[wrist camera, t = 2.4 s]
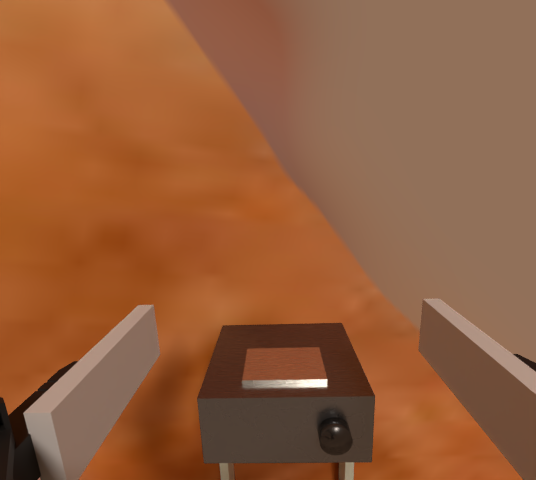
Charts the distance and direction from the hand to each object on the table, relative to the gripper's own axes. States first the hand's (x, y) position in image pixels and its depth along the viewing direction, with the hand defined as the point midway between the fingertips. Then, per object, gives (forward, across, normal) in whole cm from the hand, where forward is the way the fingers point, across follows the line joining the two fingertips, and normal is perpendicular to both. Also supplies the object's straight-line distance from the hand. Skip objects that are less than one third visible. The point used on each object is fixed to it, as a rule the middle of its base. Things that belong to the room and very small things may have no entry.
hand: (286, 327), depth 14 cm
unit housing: (+11, 0, -9) cm, 14 cm away
